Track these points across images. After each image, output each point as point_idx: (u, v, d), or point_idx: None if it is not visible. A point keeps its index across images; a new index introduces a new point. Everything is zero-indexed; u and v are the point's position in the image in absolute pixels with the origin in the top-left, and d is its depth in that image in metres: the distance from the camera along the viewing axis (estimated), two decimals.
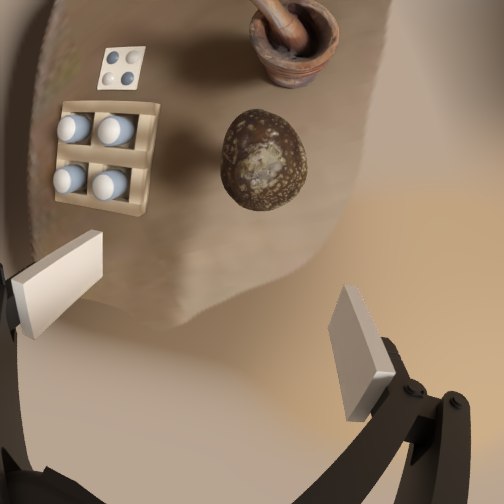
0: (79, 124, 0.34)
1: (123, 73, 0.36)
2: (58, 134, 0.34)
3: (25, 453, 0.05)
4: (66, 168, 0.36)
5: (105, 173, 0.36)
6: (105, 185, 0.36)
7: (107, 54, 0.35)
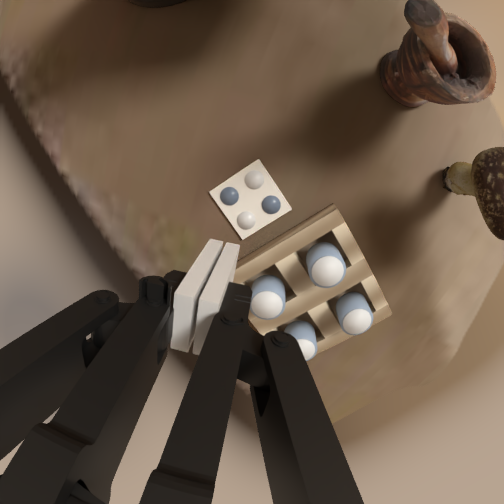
0: (278, 289, 0.33)
1: (261, 203, 0.35)
2: (260, 316, 0.34)
3: (111, 479, 0.06)
4: (297, 337, 0.35)
5: (351, 309, 0.33)
6: (359, 318, 0.33)
7: (217, 197, 0.36)
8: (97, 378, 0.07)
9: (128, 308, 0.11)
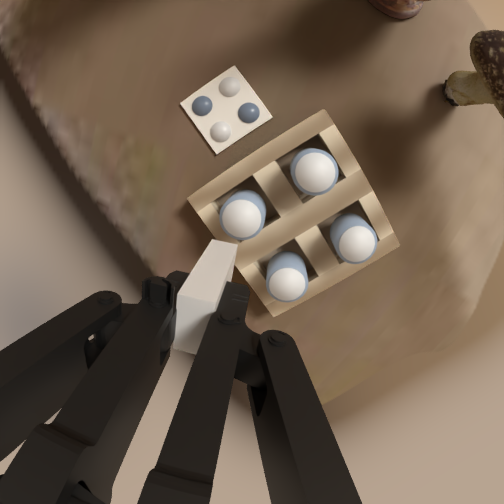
0: (255, 199, 0.27)
1: (237, 111, 0.29)
2: (233, 234, 0.27)
3: (112, 480, 0.06)
4: (281, 265, 0.28)
5: (348, 226, 0.26)
6: (359, 239, 0.26)
7: (189, 107, 0.29)
8: (99, 379, 0.07)
9: (131, 309, 0.11)
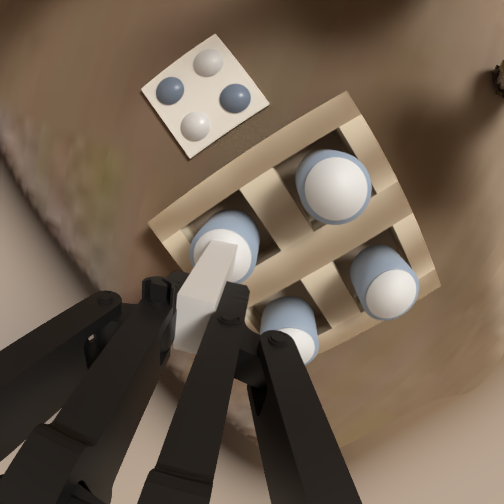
0: (242, 227, 0.18)
1: (219, 96, 0.20)
2: None
3: (112, 480, 0.06)
4: (281, 324, 0.19)
5: (382, 269, 0.17)
6: (396, 288, 0.17)
7: (152, 94, 0.20)
8: (99, 379, 0.07)
9: (131, 309, 0.11)
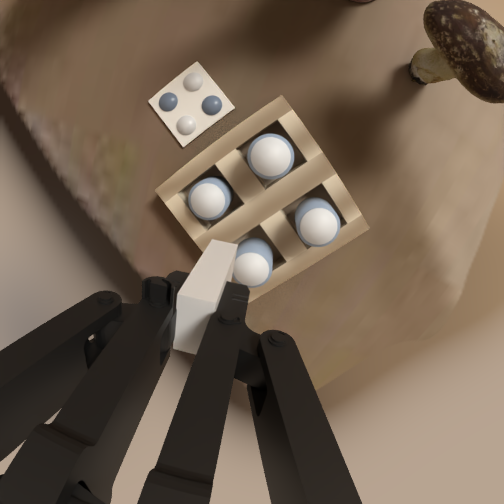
0: (219, 182, 0.29)
1: (201, 104, 0.29)
2: (201, 215, 0.30)
3: (112, 480, 0.06)
4: (244, 250, 0.29)
5: (308, 208, 0.27)
6: (320, 221, 0.27)
7: (156, 104, 0.30)
8: (99, 379, 0.07)
9: (131, 309, 0.11)
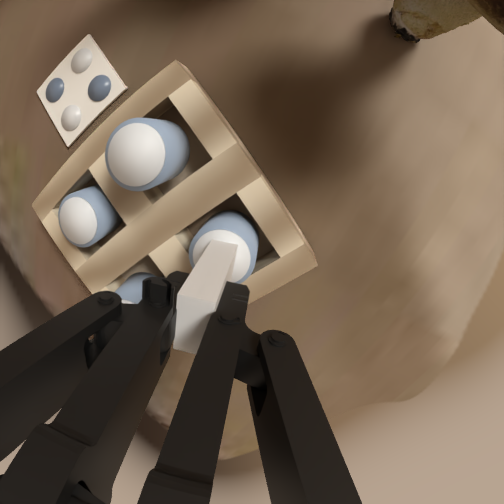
0: (91, 195, 0.19)
1: (88, 89, 0.19)
2: (73, 241, 0.19)
3: (112, 480, 0.06)
4: None
5: (204, 230, 0.17)
6: None
7: (44, 95, 0.19)
8: (99, 379, 0.07)
9: (131, 309, 0.11)
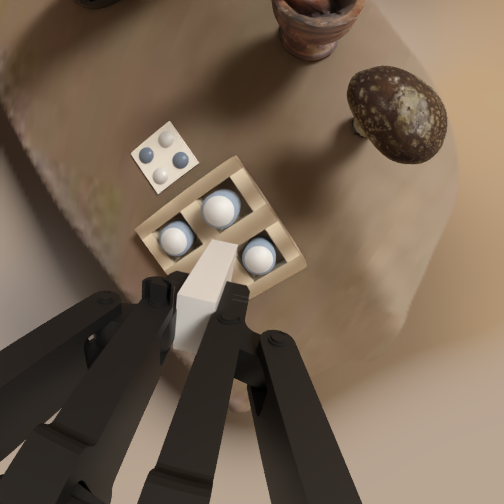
0: (183, 227, 0.37)
1: (172, 159, 0.37)
2: (169, 252, 0.37)
3: (112, 480, 0.06)
4: None
5: (251, 246, 0.36)
6: (260, 256, 0.36)
7: (137, 157, 0.38)
8: (99, 379, 0.07)
9: (131, 309, 0.11)
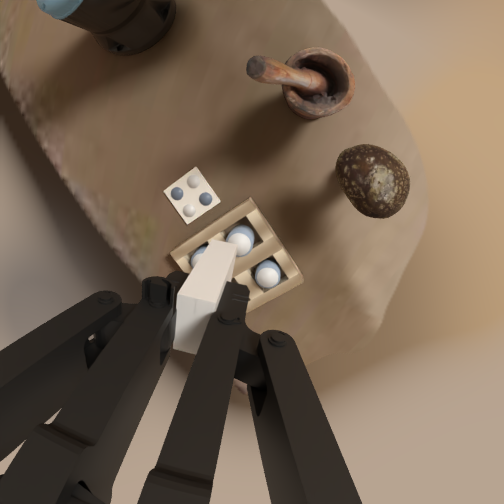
0: None
1: (198, 198, 0.49)
2: None
3: (112, 480, 0.06)
4: None
5: (262, 267, 0.48)
6: (268, 275, 0.49)
7: (169, 194, 0.49)
8: (99, 379, 0.07)
9: (131, 309, 0.11)
